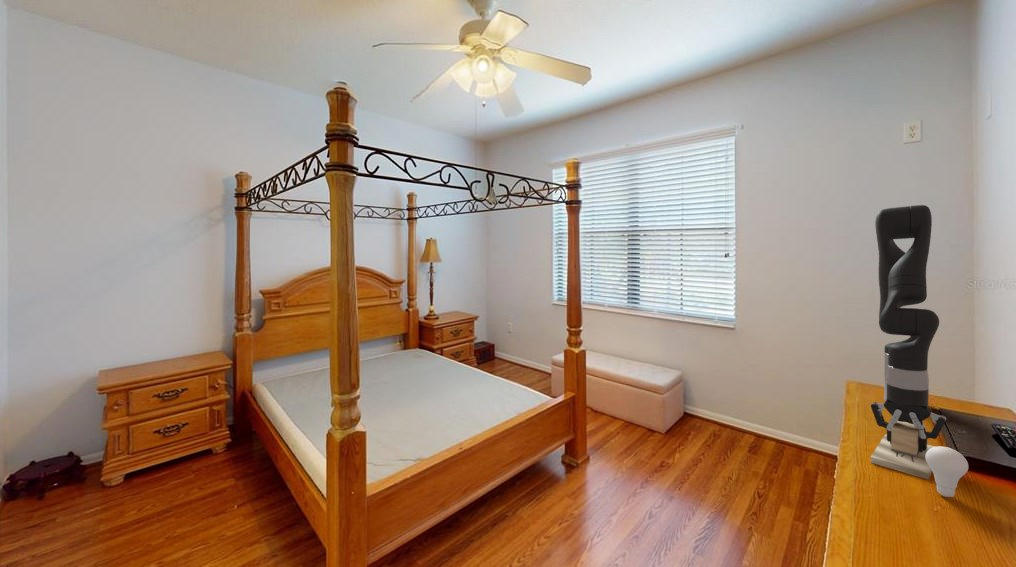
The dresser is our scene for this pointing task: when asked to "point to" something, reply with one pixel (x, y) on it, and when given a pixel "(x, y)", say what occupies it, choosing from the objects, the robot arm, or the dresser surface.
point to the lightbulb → (946, 468)
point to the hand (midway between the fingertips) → (906, 446)
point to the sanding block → (905, 439)
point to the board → (901, 460)
